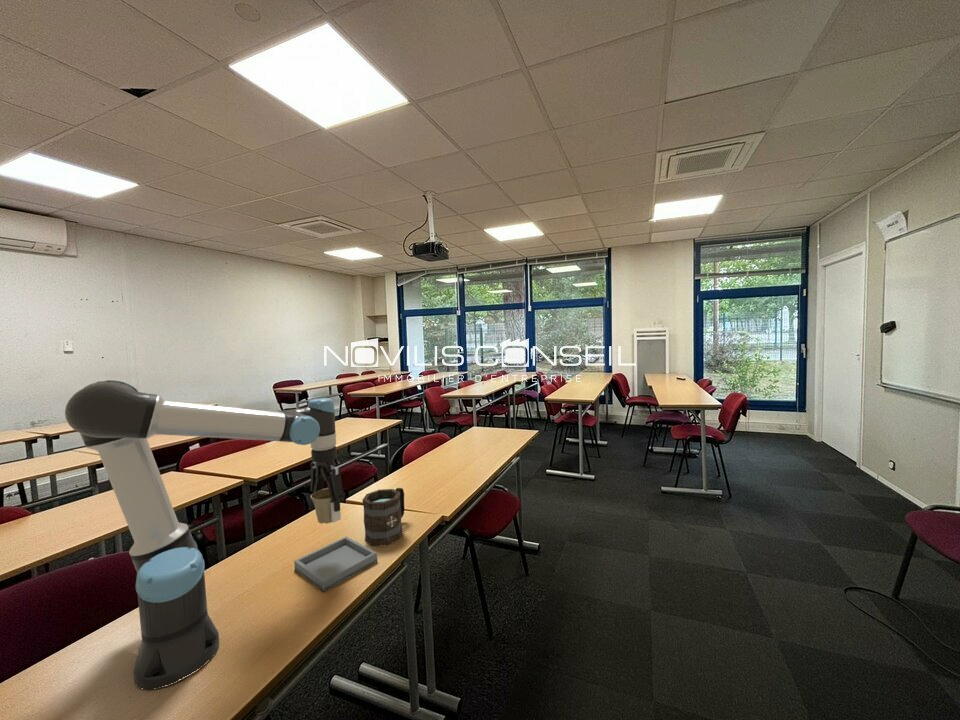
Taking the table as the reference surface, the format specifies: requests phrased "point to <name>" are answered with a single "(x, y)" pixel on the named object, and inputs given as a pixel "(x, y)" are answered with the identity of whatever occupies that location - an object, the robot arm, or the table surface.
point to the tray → (335, 563)
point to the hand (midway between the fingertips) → (328, 516)
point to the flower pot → (322, 505)
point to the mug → (383, 516)
